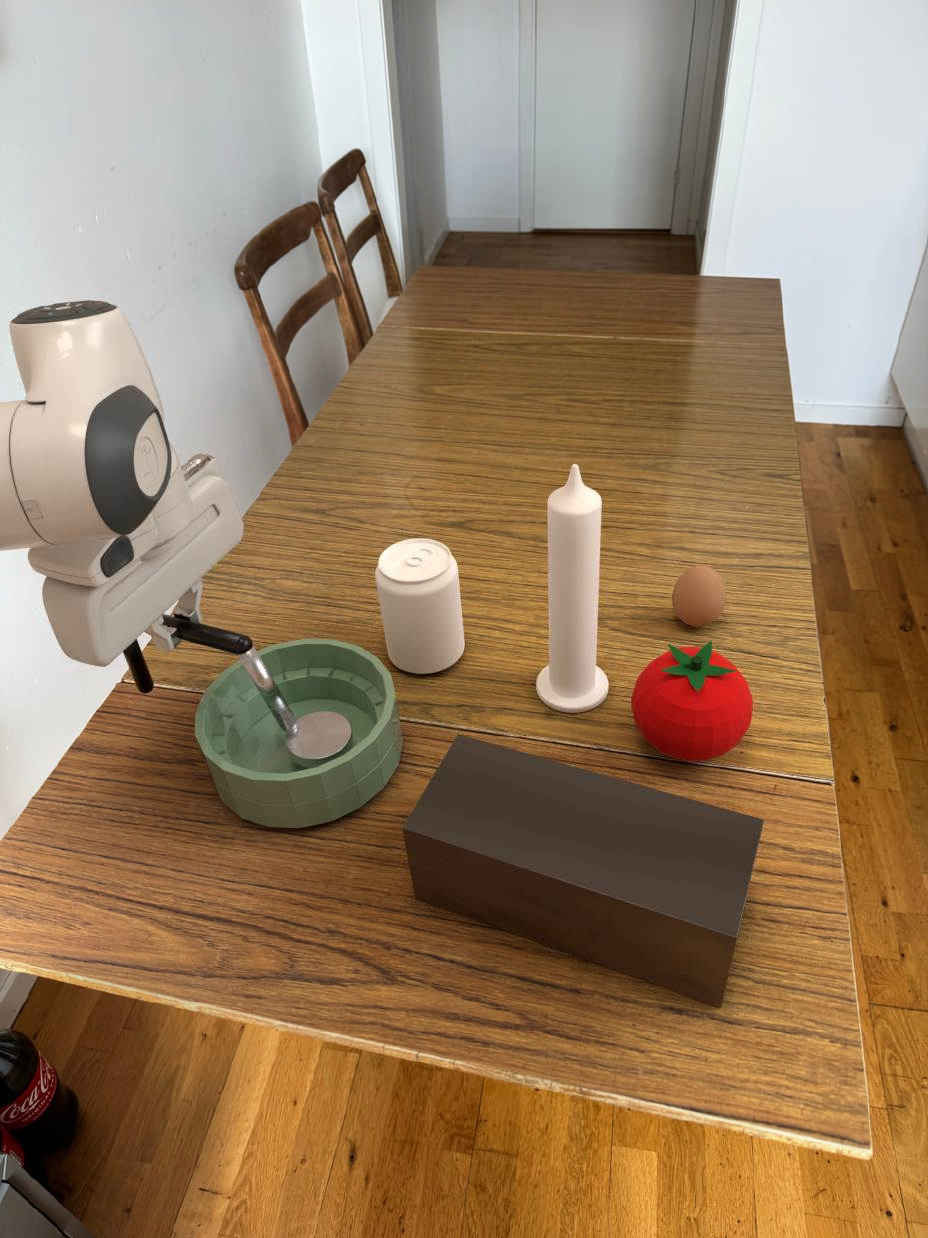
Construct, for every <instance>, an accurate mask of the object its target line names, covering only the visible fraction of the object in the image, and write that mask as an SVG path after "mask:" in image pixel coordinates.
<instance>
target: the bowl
mask: <svg viewBox="0 0 928 1238" xmlns="http://www.w3.org/2000/svg"><path fill="white" fill-rule="evenodd" d="M256 651H257V652H258V654H259V656H260V657H261V659H262V661H263V663H264V664H265V666H266V668H267V669H268V671H269V673H270V675H271V676H272V678H273V680H274V682H275V683H276V685H277V687H278V688H279V690H280V692H281V694H282V695H283V697H284V699H285V700H286V702H287V704H288V706H289V707H290V709H291V711H292V712H293V714H294V716H295V718H296V719H297V720H298V719H299V718H301V717H303V716H305V715H307V714H310V713H313V712H318V711H331V712H336V713H338V714H341V715H342V716H344V717H345V718H346V719H347V720H348V721H349V722H350V724H351V727H352V732H353V745H352V748H351V750H350V751H349V752H347V753H346V754H345V755H343V756H340V757H338V758H336V759H334V760H332V761H329V762H327V763H325V764H323V765H321V766H319V767H316V768H308V767H304V766H301V765H299V764H297V763H295V762H294V761H293V760H292V759H291V757H290V756H289V754H288V750H287V747H286V742H285V738H286V734H287V732H284V731H283V730H282V729H281V728H280V726H279V724H278V723H277V721H276V719H275V718H274V716H273V714H272V713H271V711H270V709H269V708H268V706H267V704H266V703H265V701H264V699H263V697H262V696H261V694H260V692H259V691H258V689H257V687H256V686H255V684H254V682H253V681H252V679H251V677H250V676H249V674H248V672H247V671H246V669H245V667H244V666H243V664H242V662H241V661H240V659H239V660H237V661H235V662H234V663H233V664H231V665H230V666H228V667H227V668H226V669H224V670H223V671H222V672H221V673H220V674H219V675H218V676H217V677H216V678H215V679H214V680H213V681H212V682H211V684H210V685H209V686H207V688H206V689H205V691H204V692H203V695H202V697H201V699H200V701H199V704H198V706H197V708H196V709H195V713H194V738H195V740H196V743H197V744H198V747H199V750H200V752H201V755H202V758H203V761H204V764H205V767H206V768H207V772H208V774H209V777H210V780H211V782H212V784H213V786H214V788H215V790H216V793H217V795H218V797H219V799H220V801H221V803H223V804H224V805H225V806H227V808H228V809H230V810H231V811H232V812H234V813H235V814H236V815H237V816H238V817H240V818H241V819H244V820H247V821H250V822H253V823H255V824H259V825H261V826H264V827H268V828H286V829H302V828H306V827H311V826H316V825H320V824H321V825H322V824H325V823H326V824H327V823H332V822H333V821H335V820H338V819H340V818H342V817H344V816H346V815H348V814H350V813H351V812H354V811H356V810H358V809H361V808H362V807H363V806H364V805H365V804H366V803H367V802H369V801H370V800H371V799H372V798H373V797H375V796H376V795H377V794H378V793H380V792H381V791H382V790H383V789H384V788H385V787H386V785H387V784H388V782H389V781H390V780H391V777H392V776H393V775H394V773H395V772H396V770H397V768H398V766H399V764H400V759H401V755H402V749H403V746H404V738H403V732H402V731H403V730H402V726H401V720H400V715H399V714H400V713H399V708H398V702H397V695H396V690H395V685H394V681H393V676H392V674H391V672H390V671H389V669H387V667H386V666H385V665H384V664H383V662H382V661H381V659H380V658H379V657H377V655H374V653H371V652H369V651H368V650H366V649H364V648H362V647H361V646H359V645H357V644H354V643H349V642H347V641H346V642H345V641H343V640H339V639H333V638H299V639H295V640H290V641H289V640H288V641H283V642H280V643H279V642H277V643H275V644H272V645H269V646H267V647H264V648H261V649H259V650H256Z"/></svg>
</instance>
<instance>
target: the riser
mask: <svg viewBox="0 0 928 1238" xmlns="http://www.w3.org/2000/svg"><path fill="white" fill-rule="evenodd" d="M764 822H765V819H764V818H760V817H757V816H753V815H749V814H746V813H742V812H738V811H736V810H733V809H732V810H731V809H728V808H724V807H721V806H717V805H713V804H710V803H707V802H703V801H699V800H696V799H692V798H689V797H685V796H682V795H678V794H674V793H670V792H667V791H663V790H660V789H657V788H652V787H649V786H646V785H642V784H638V783H635V782H631V781H627V780H625V779H620V778H617V777H615V776H610V775H607V774H603V773H599V772H595V771H592V770H589V769H584V768H581V767H578V766H574V765H570V764H567V763H564V762H560V761H556V760H553V759H550V758H546V757H542V756H538V755H535V754H532V753H528V752H525V751H521V750H517V749H513V748H510V747H506V746H503V745H499V744H496V743H491V742H490V741H485V740H481V739H478V738H474V737H470V736H468V735H463V734H459V733H458V734H457V735H456V736H455V738H454V740H453V742H452V743H451V745H450V747H449V748H448V750H447V752H446V754H445V755H444V757H443V759H442V760H441V762H440V764H439V765H438V767H437V769H436V770H435V772H434V774H433V775H432V777H431V779H430V781H429V782H428V783H427V785H426V787H425V789H424V790H423V792H422V794H421V795H420V797H419V799H418V801H417V802H416V804H415V805H414V807H413V809H412V811H411V812H410V814H409V816H408V817H407V819H406V821H405V823H404V824H403V826H402V827H401V830H402V835H403V840H404V846H405V851H406V856H407V862H408V869H409V873H410V878H411V884H412V890H413V895H414V899H416V900H419V901H421V902H423V903H427V904H429V905H432V906H435V907H437V908H440V909H444V910H446V911H449V912H451V913H454V914H457V915H460V916H462V917H466V918H469V919H471V920H474V921H477V922H479V923H483V924H485V925H487V926H491V927H493V928H496V929H499V930H501V931H505V932H507V933H510V934H513V935H516V936H518V937H522V938H524V939H527V940H530V941H533V942H535V943H538V944H540V945H544V946H546V947H548V948H552V949H555V950H558V951H560V952H563V953H566V954H568V955H572V956H574V957H576V958H580V959H583V960H584V961H585V960H586V961H588V962H590V963H594V964H596V965H600V966H601V967H605V968H608V969H610V970H613V971H616V972H619V973H622V974H624V975H626V976H629V977H633V978H635V979H639V980H641V981H644V982H647V983H650V984H652V985H655V986H658V987H661V988H664V989H667V990H669V991H672V992H675V993H677V994H680V995H683V996H686V997H689V998H691V999H694V1000H697V1001H700V1002H703V1003H705V1004H708V1005H711V1006H714V1007H717V1008H720V1009H722V1006H723V1002H724V998H725V994H726V989H727V985H728V980H729V976H730V971H731V967H732V963H733V960H734V954H735V950H736V947H737V941H738V938H739V937H738V936H739V934H740V933H739V932H740V928H741V924H742V920H743V916H744V910H745V906H746V901H747V897H748V893H749V889H750V885H751V880H752V876H753V872H754V867H755V863H756V858H757V854H758V850H759V845H760V841H761V836H762V832H763V828H764Z"/></svg>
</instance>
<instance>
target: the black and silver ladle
mask: <svg viewBox="0 0 928 1238" xmlns="http://www.w3.org/2000/svg"><path fill="white" fill-rule="evenodd" d="M162 617H163V620H164V622H163V623H162V625H166V626H167V627H173V628H177V630H178V633H179V638H180V639H181V641H186V642H189V643H192V644H197V645H199V646H203V647H208V648H211V649H214V650H218V651H222V652H225V653H229V654H232V655H236V656H237V657H238V659H239V660H240V661H241V662H242V664H243V666H244V667H245V669H246V671H247V672H248V674H249V676H250V677H251V679H252V681H253V682H254V684H255V686H256V687H257V689H258V691H259V692H260V694H261V696H262V697H263V699H264V701H265V703H266V704H267V706H268V708H269V709H270V711H271V713H272V714H273V716H274V718H275V719H276V721H277V723H278V724H279V726H280V728H281V729H282V730H283V731H284V732H287V734H286V738H285V742H286V747H287V750H288V754H289V756H290V757H291V759H292V760H293V761H294V762H295V763H297V764H299V765H301V766H304V767H308V768H316V767H319V766H321V765H323V764H325V763H327V762H329V761H332V760H334V759H336V758H338V757H340V756H343V755H345V754H346V753H347V752H349V751H350V750H351V748H352V745H353V732H352V727H351V724H350V722H349V721H348V720H347V719H346V718H345V717H344V716H342V715H341V714H338V713H336V712H331V711H318V712H313V713H310V714H307V715H305V716H303V717H301V718H299V719H298V720H297V719H296V718H295V716H294V714H293V712H292V711H291V709H290V707H289V706H288V704H287V702H286V700H285V699H284V697H283V695H282V694H281V692H280V690H279V688H278V687H277V685H276V683H275V682H274V680H273V678H272V676H271V675H270V673H269V671H268V669H267V668H266V666H265V664H264V663H263V661H262V659H261V657H260V656H259V654H258V652H257V651H258V650H257V649H256V646H255V645H254V642H253V640H252V639H251V637H250V636H248V635H246V634H243V633H239V632H235V631H231V630H228V629H223V628H219V627H215V626H212V625H209V624H205V623H202V622H201V623H197V622H193V621H189V620H185V619H181V618H178V617H175V616H174V615H170V614H165V613H163V614H162ZM122 654H123V657H124V659H125V661H126V664H127V666H128V669H129V671H130V674H131V677H132V679H133V681H134V684H135V687H136V689H137V691H138V692H139V693H142V694H149V693H152V691H153V690H154V688H155V683H154V680H153V677H152V675H151V673H150V669H149V667H148V665H147V662H146V659H145V656H144V653H143V651H142V649H141V645H140V644H139V641H138V638H137V639H136V640H135V641H134V642H133V643H131V644H130V645H129V646H128V647H127V648H126V649H125V650H124V651H123V652H122Z"/></svg>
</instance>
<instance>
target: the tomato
mask: <svg viewBox="0 0 928 1238" xmlns="http://www.w3.org/2000/svg"><path fill="white" fill-rule="evenodd" d="M667 646H668V648H669V650H668V651H666V652H664V653H663V654H661V655H660V656H657V657H656V658H655V659H653V660H651V661H649V663H648V664H647V665H646V666H645V668H644V669H643V670H642V672H641V673H640V674H639V675H638V677H637V679H636V681H635V683H634V687H633V691H632V694H631V699H630V701H631V702H630V704H631V711H632V716H633V721H634V723H635V726H636V727H637V729H638V730H639V732H640V734H641V735H642V737H643V738H644V739H645V741H646V742H647V743H648V744H650V745H651V746H652V747H653V748H654V749H656V750H657V751H658V752H660V753H662V754H664V755H665V756H668V757H671V758H672V759H675V760H680V761H681V760H682V761H686V762H705V761H708V760H712V759H715V758H718V757H721V756H724V755H725V754H726V753H728V752H730V751H731V750H733V749H734V748H735V747H736V746H738V745H739V744H740V742H741V741H742V739H743V738H744V736H745V735H746V733H747V732H748V731H749V728H750V726H751V723H752V718H753V710H754V699H753V696H752V693H751V689H750V686H749V683H748V682H747V678H745V676H744V675H743V674H742V673H741V671H740V670H739V669H738V668H737V667H736V666H735V664H734V663H732V662H731V661H730V660H728V659H727V658H726V657H724V656H723V655H721V654H720V653H719V652H716V651H713V641H712V640H709V641H708V642H707V643H706V644H705V645H703V646H702V647H697V646H680V647H675V646H674V645H672V644H670V643H668V644H667Z"/></svg>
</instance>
